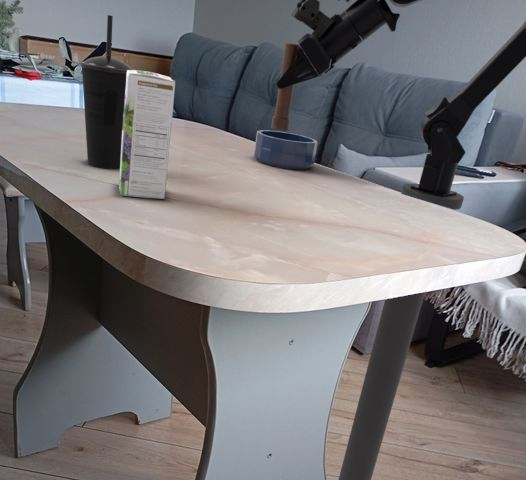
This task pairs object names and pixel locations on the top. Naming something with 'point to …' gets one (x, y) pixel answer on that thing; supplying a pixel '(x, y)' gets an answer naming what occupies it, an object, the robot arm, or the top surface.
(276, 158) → the bowl
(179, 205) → the top surface
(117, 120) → the drinking cup
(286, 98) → the rod
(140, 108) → the syrup box
